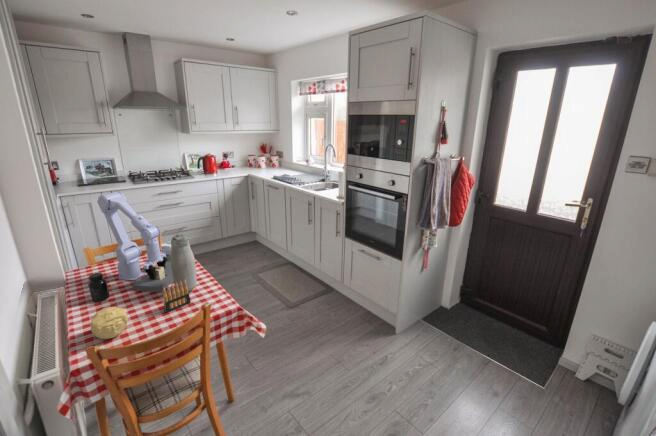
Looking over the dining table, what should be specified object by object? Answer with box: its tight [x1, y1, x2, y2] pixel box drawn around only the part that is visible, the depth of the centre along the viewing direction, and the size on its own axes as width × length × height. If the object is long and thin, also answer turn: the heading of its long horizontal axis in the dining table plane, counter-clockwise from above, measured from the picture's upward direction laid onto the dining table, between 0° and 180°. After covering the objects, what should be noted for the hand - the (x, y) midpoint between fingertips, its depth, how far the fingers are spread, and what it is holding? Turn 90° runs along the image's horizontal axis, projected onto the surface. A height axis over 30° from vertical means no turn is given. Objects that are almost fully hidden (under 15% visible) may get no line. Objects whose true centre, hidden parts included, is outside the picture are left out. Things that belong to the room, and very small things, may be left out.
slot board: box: [131, 268, 174, 293], centre depth 161 cm, size 14×18×3 cm
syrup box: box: [160, 241, 171, 269], centre depth 173 cm, size 6×6×14 cm
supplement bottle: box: [87, 272, 111, 303], centre depth 144 cm, size 7×7×12 cm
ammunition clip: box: [162, 279, 191, 314], centre depth 139 cm, size 11×2×12 cm, turn 138°
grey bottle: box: [170, 233, 198, 292], centre depth 150 cm, size 10×10×28 cm
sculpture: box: [90, 306, 129, 340], centre depth 122 cm, size 11×12×11 cm
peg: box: [148, 265, 165, 280], centre depth 160 cm, size 6×4×7 cm, turn 82°
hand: (157, 275), depth 160 cm, fingers open, 7 cm apart
